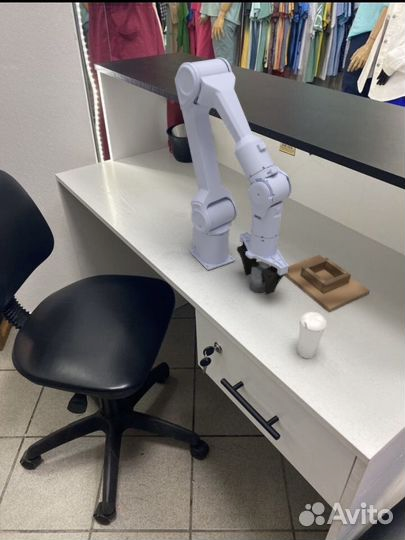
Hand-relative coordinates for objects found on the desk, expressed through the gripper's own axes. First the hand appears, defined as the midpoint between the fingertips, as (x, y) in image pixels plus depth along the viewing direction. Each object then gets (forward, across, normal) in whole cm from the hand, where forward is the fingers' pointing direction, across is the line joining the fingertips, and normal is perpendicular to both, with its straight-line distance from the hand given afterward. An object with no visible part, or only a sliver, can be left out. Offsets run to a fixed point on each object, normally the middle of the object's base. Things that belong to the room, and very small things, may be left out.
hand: (259, 282), depth 87 cm
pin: (+1, 0, 0) cm, 1 cm away
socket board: (+1, +6, +14) cm, 15 cm away
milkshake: (+2, +20, -4) cm, 20 cm away
